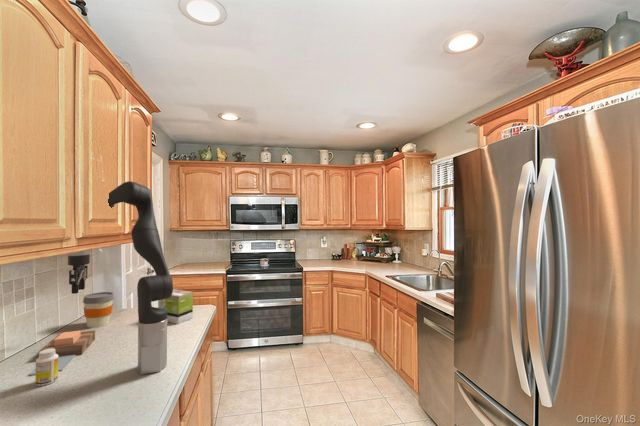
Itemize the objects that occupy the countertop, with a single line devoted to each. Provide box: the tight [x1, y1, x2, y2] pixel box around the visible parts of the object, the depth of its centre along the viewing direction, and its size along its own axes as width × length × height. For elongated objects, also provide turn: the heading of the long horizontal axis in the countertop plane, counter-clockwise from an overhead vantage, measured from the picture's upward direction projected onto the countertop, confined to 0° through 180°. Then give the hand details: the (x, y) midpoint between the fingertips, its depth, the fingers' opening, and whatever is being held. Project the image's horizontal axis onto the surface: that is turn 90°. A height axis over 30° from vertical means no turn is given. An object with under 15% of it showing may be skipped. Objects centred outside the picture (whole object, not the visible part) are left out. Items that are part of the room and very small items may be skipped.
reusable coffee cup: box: [82, 291, 115, 329], centre depth 152 cm, size 13×13×15 cm
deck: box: [39, 329, 96, 356], centre depth 123 cm, size 16×13×4 cm
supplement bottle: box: [34, 349, 59, 387], centre depth 99 cm, size 6×6×10 cm
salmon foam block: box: [54, 330, 82, 346], centre depth 122 cm, size 8×6×2 cm
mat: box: [28, 354, 77, 377], centre depth 110 cm, size 13×9×1 cm
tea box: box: [157, 288, 194, 325], centre depth 160 cm, size 15×10×15 cm, turn 67°
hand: (78, 291), depth 131 cm, fingers open, 7 cm apart
